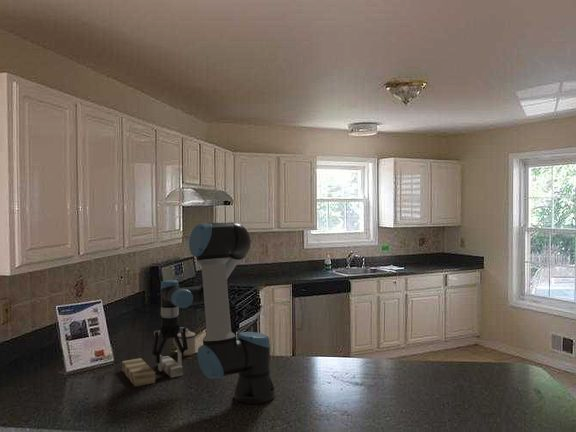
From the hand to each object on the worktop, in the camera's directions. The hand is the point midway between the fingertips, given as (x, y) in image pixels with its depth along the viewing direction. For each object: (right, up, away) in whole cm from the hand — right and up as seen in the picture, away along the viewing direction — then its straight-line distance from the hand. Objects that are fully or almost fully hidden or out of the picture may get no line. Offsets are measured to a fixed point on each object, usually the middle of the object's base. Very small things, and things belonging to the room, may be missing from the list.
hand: (170, 368), depth 200 cm
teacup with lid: (0, -1, +25) cm, 25 cm away
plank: (0, -1, 0) cm, 1 cm away
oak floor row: (-11, -1, -7) cm, 14 cm away
